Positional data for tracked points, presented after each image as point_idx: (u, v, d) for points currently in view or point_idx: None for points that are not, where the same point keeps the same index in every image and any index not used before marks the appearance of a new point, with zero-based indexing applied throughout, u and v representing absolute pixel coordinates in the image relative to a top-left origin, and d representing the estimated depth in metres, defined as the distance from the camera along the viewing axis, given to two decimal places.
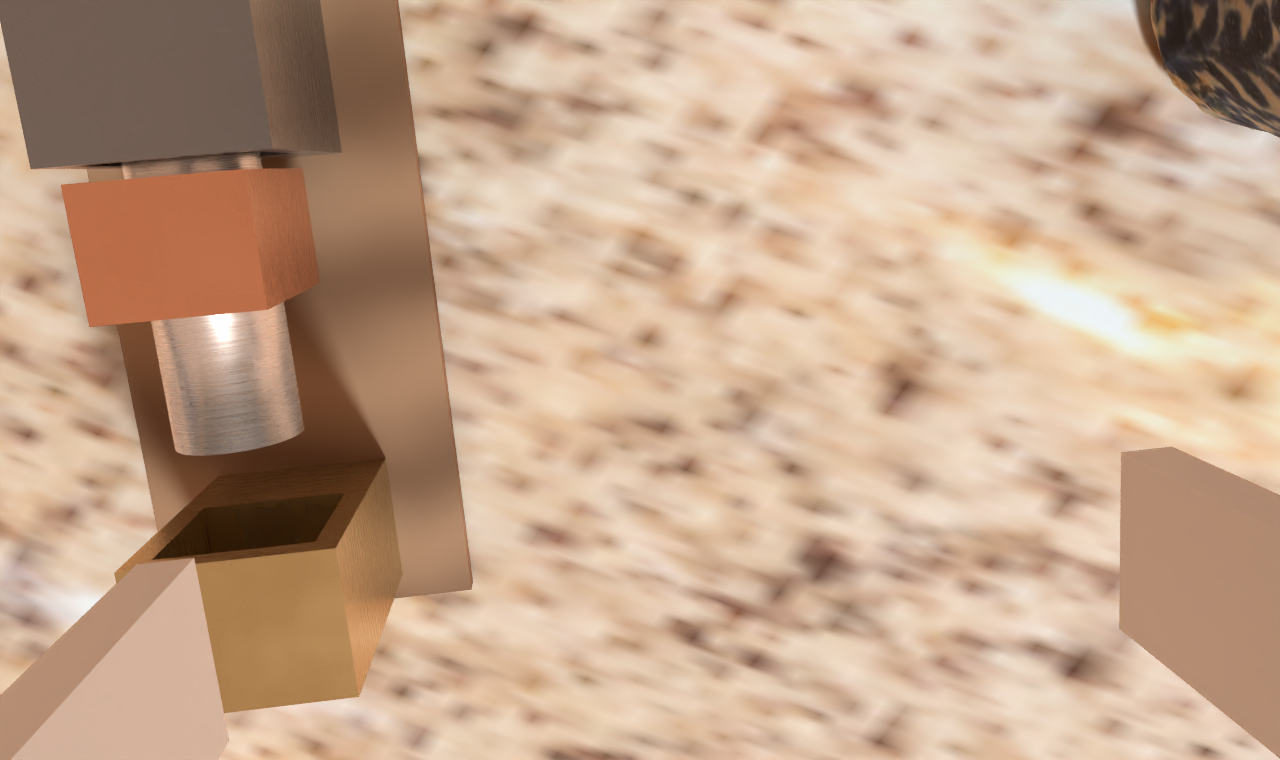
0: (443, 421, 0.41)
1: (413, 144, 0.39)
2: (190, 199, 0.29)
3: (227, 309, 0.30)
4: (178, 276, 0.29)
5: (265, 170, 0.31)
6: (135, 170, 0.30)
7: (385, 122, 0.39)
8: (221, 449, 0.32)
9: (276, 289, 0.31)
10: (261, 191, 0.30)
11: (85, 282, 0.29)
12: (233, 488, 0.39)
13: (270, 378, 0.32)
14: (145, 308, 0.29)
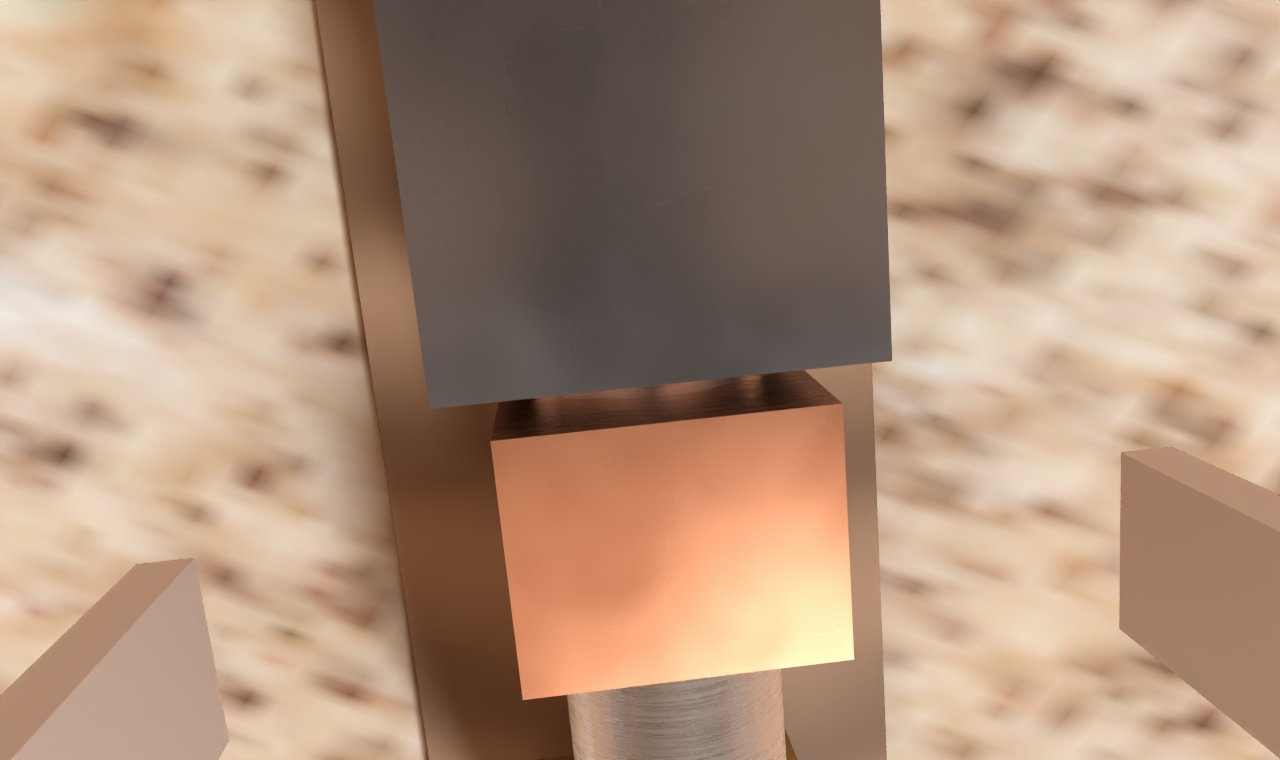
0: (874, 674, 0.27)
1: None
2: (734, 463, 0.15)
3: (780, 660, 0.15)
4: (696, 604, 0.15)
5: None
6: None
7: None
8: None
9: None
10: None
11: (522, 620, 0.15)
12: None
13: (772, 726, 0.18)
14: (629, 663, 0.15)
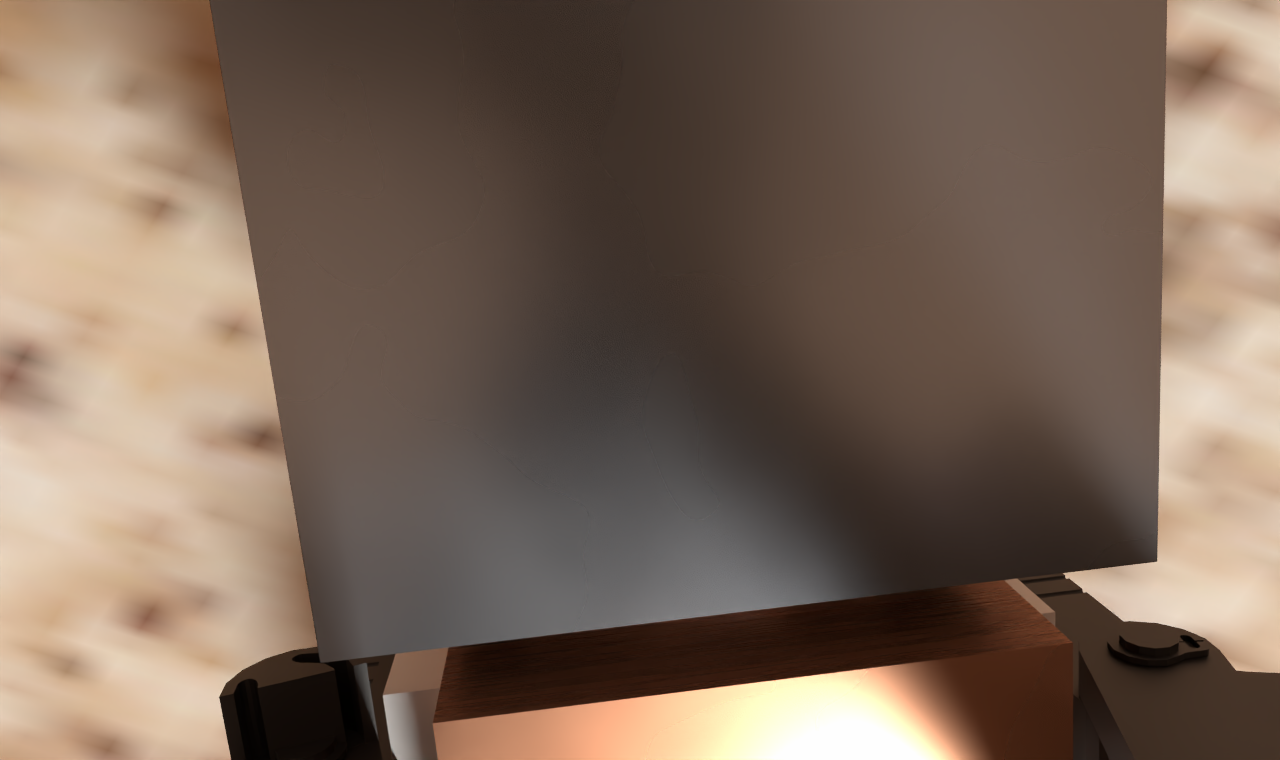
0: None
1: None
2: (876, 749, 0.08)
3: None
4: None
5: None
6: None
7: None
8: None
9: None
10: None
11: None
12: None
13: None
14: None
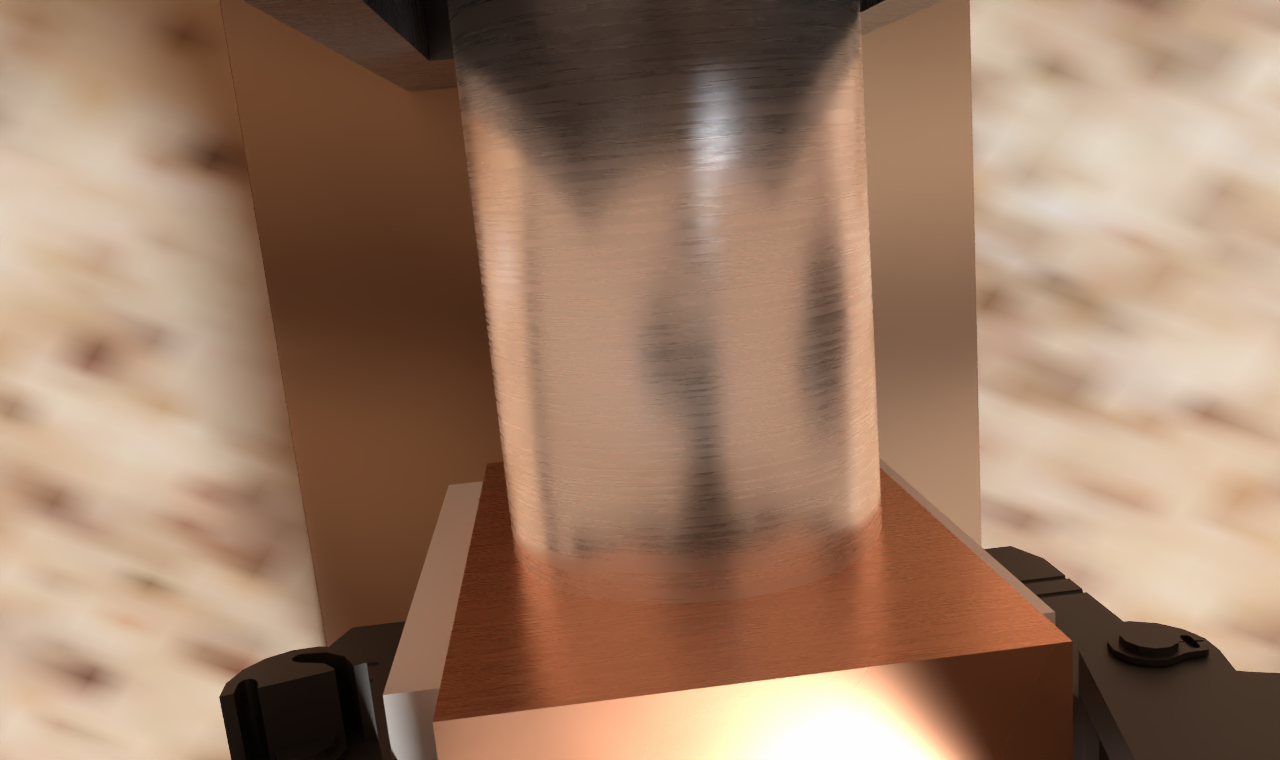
0: None
1: (967, 39, 0.17)
2: (876, 747, 0.08)
3: None
4: None
5: (962, 547, 0.10)
6: (595, 572, 0.10)
7: None
8: None
9: None
10: None
11: None
12: None
13: None
14: None
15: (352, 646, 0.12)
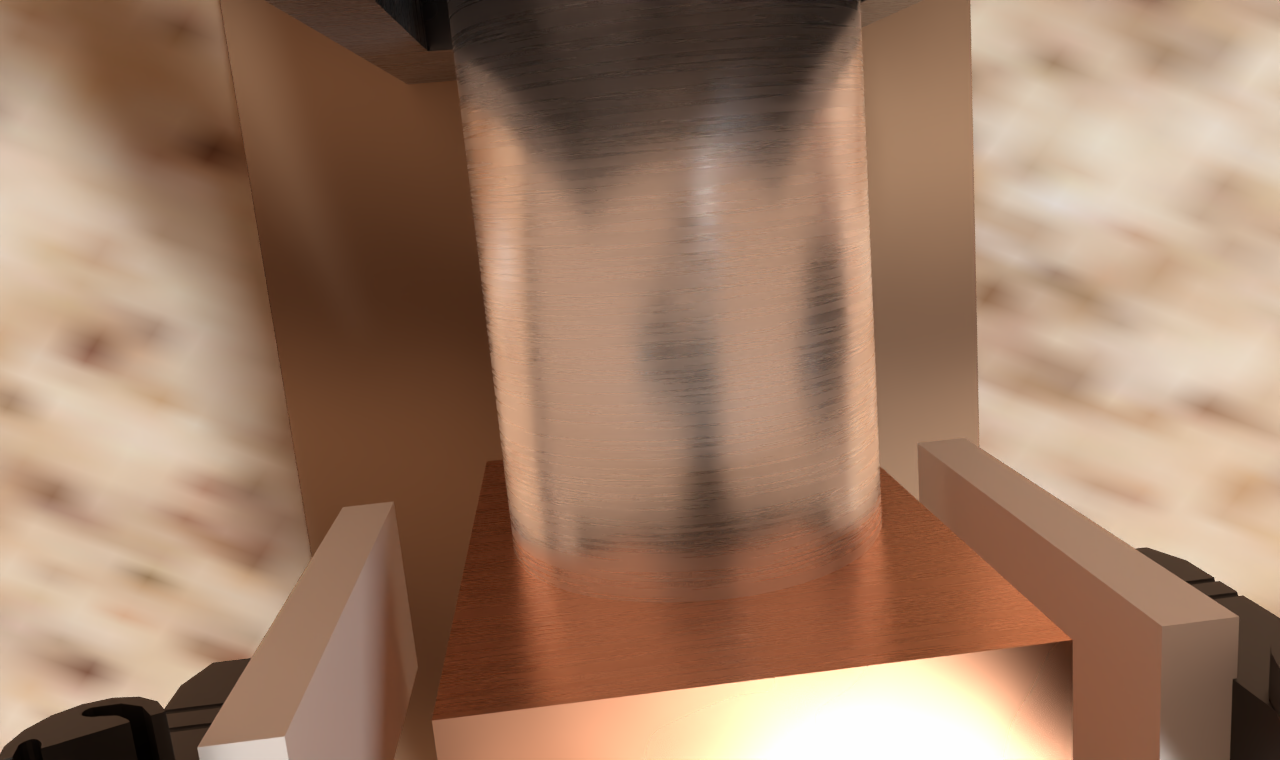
0: None
1: (968, 32, 0.17)
2: (877, 746, 0.08)
3: None
4: None
5: (962, 546, 0.10)
6: (595, 570, 0.10)
7: None
8: None
9: None
10: None
11: None
12: None
13: None
14: None
15: (206, 684, 0.12)
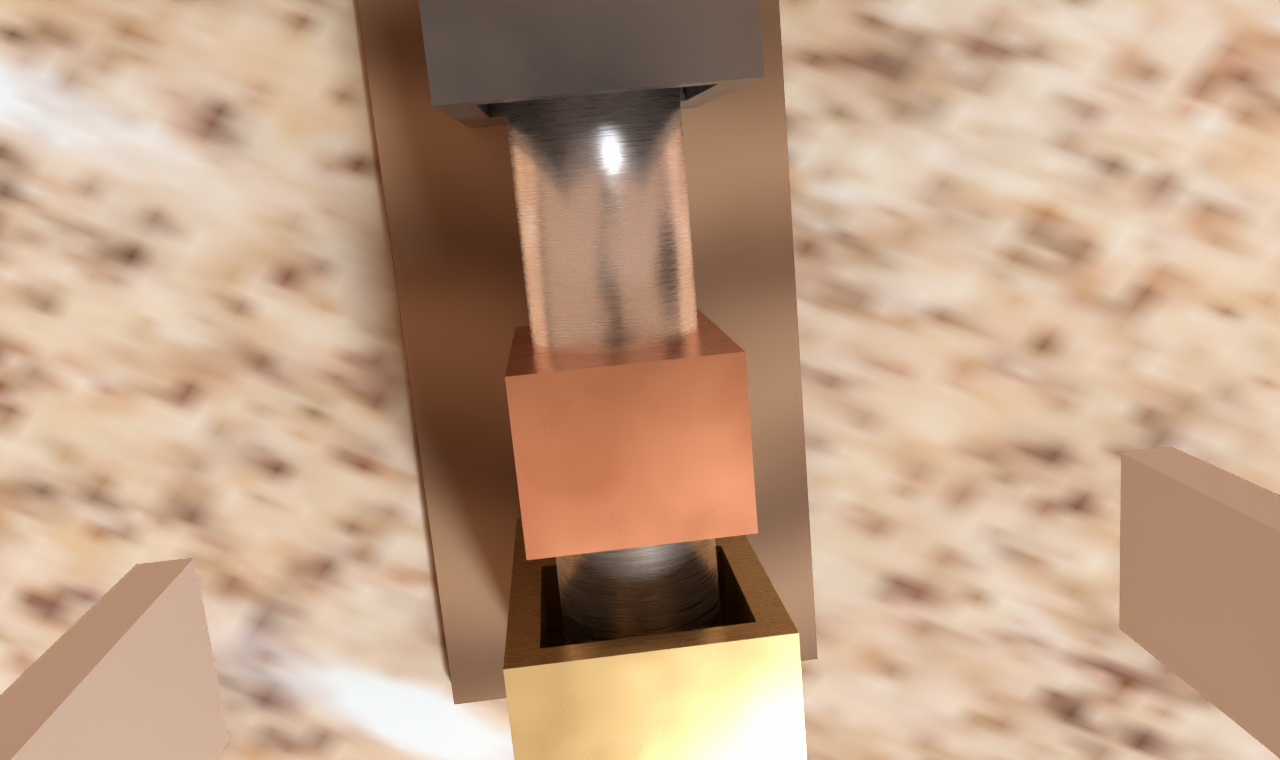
0: (797, 449, 0.33)
1: (783, 97, 0.31)
2: (671, 392, 0.21)
3: (706, 533, 0.22)
4: (647, 492, 0.22)
5: None
6: (567, 342, 0.23)
7: None
8: None
9: None
10: None
11: (526, 503, 0.22)
12: None
13: (708, 599, 0.25)
14: (600, 534, 0.22)
15: None
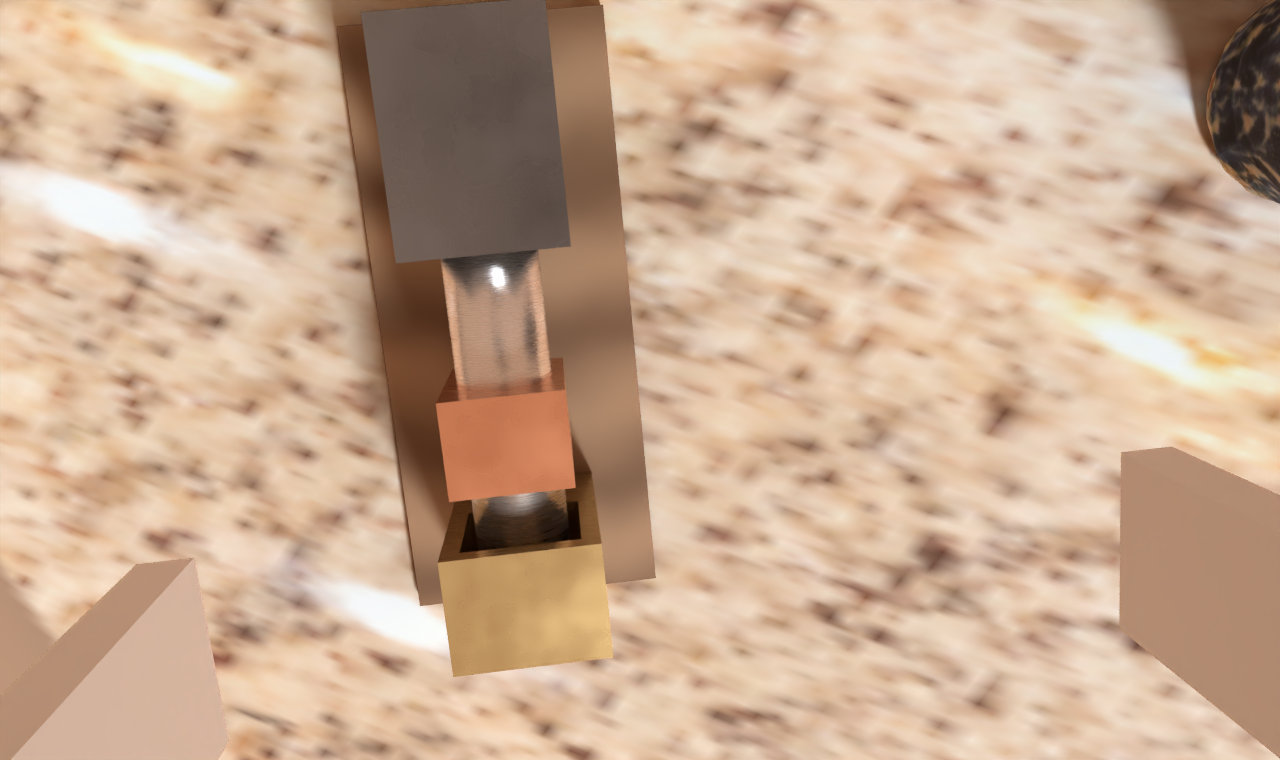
0: (638, 442, 0.51)
1: (622, 223, 0.49)
2: (525, 411, 0.40)
3: (547, 488, 0.41)
4: (514, 465, 0.40)
5: (564, 379, 0.42)
6: (473, 383, 0.42)
7: (601, 206, 0.49)
8: None
9: None
10: None
11: (448, 471, 0.40)
12: None
13: (558, 528, 0.44)
14: (488, 488, 0.41)
15: None
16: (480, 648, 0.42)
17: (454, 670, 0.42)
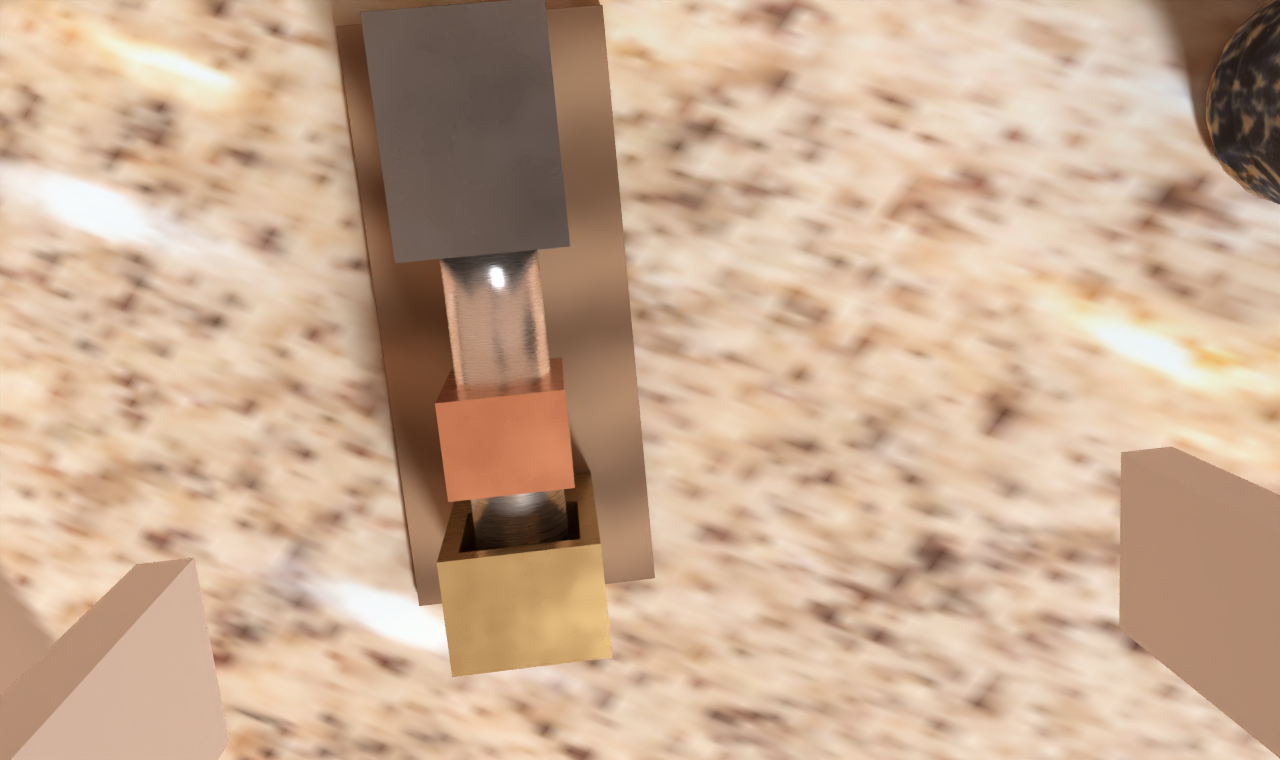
0: (637, 442, 0.51)
1: (621, 223, 0.49)
2: (525, 411, 0.40)
3: (546, 488, 0.41)
4: (513, 465, 0.40)
5: (563, 379, 0.42)
6: (472, 383, 0.42)
7: (601, 206, 0.49)
8: None
9: None
10: (565, 398, 0.41)
11: (447, 471, 0.40)
12: None
13: (557, 528, 0.44)
14: (488, 488, 0.41)
15: None
16: (479, 648, 0.42)
17: (453, 670, 0.42)
